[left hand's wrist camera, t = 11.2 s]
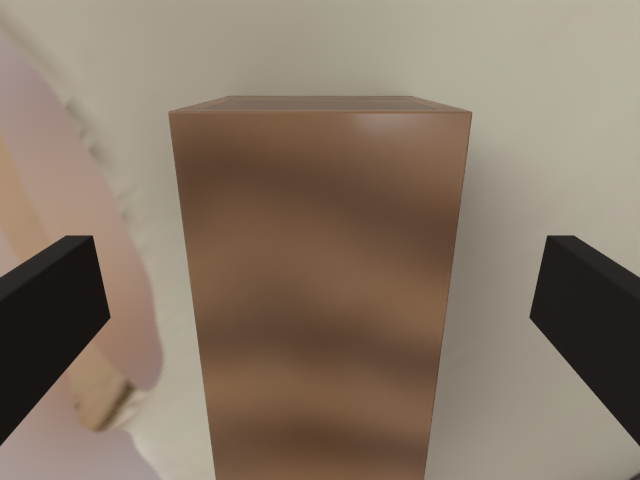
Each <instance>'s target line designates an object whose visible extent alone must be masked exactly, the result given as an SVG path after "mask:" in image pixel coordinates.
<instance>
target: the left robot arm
mask: <svg viewBox="0 0 640 480" xmlns="http://www.w3.org/2000/svg"><path fill="white" fill-rule="evenodd" d="M529 318H530V319H531V320H532V321H533V322H534V324H535V325H536V326H537V327H538V328H539V329H540V331H541V332H542V333H543V334H544V335H545V336H546V338H547V339H548V340H549V341H550V342H551V343H552V344H553V346H554V347H555V348H556V349H557V350H558V351H559V353H560V354H561V355H562V356H563V357H564V358H565V360H566V361H567V362H568V363H569V364H570V365H571V367H572V368H573V369H574V370H575V371H576V372H577V374H578V375H579V376H580V377H581V378H582V379H583V381H584V382H585V383H586V384H587V385H588V386H589V388H590V389H591V390H592V391H593V392H594V393H595V395H596V396H597V397H598V398H599V399H600V400H601V402H602V403H603V404H604V405H605V406H606V407H607V409H608V410H609V411H610V412H611V413H612V414H613V416H614V417H615V418H616V419H617V420H618V421H619V423H620V424H621V425H622V426H623V427H624V428H625V430H626V431H627V432H628V433H629V434H630V435H631V437H632V438H633V439H634V440H635V441H636V442H637V444H638V445H639V446H640V277H638V276H636V275H635V274H633V273H632V272H630V271H629V270H627V269H625V268H624V267H622V266H621V265H619V264H618V263H616V262H614V261H613V260H611V259H610V258H608V257H607V256H605V255H604V254H602V253H600V252H599V251H597V250H596V249H594V248H593V247H591V246H589V245H588V244H586V243H585V242H583V241H582V240H580V239H578V238H577V237H575V236H547V239H546V244H545V248H544V253H543V258H542V262H541V267H540V271H539V276H538V281H537V285H536V290H535V294H534V299H533V303H532V308H531V313H530V317H529ZM109 319H110V313H109V308H108V303H107V299H106V294H105V290H104V285H103V281H102V276H101V271H100V267H99V262H98V258H97V253H96V248H95V244H94V239H93V236H65V237H63V238H62V239H60V240H59V241H57V242H55V243H54V244H52V245H51V246H49V247H47V248H46V249H44V250H43V251H41V252H40V253H38V254H36V255H35V256H33V257H32V258H30V259H29V260H27V261H26V262H24V263H22V264H21V265H19V266H18V267H16V268H15V269H13V270H11V271H10V272H8V273H7V274H5V275H4V276H2V277H0V446H1V445H2V443H3V442H4V441H5V440H6V439H7V438H8V437H9V435H10V434H11V433H12V432H13V431H14V430H15V428H16V427H17V426H18V425H19V424H20V423H21V421H22V420H23V419H24V418H25V417H26V416H27V414H28V413H29V412H30V411H31V410H32V409H33V407H34V406H35V405H36V404H37V403H38V401H39V400H40V399H41V398H42V397H43V396H44V395H45V393H46V392H47V391H48V390H49V389H50V388H51V386H52V385H53V384H54V383H55V382H56V381H57V379H58V378H59V377H60V376H61V375H62V374H63V372H64V371H65V370H66V369H67V368H68V367H69V365H70V364H71V363H72V362H73V361H74V360H75V358H76V357H77V356H78V355H79V354H80V353H81V351H82V350H83V349H84V348H85V347H86V346H87V344H88V343H89V342H90V341H91V340H92V339H93V338H94V336H95V335H96V334H97V333H98V332H99V330H100V329H101V328H102V327H103V326H104V325H105V323H106V322H107V321H108V320H109Z"/></svg>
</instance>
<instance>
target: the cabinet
mask: <svg viewBox="0 0 640 480" xmlns="http://www.w3.org/2000/svg"><path fill="white" fill-rule="evenodd" d="M471 119H472V112H471V111H467V110H463V109H460V108H456V107H452V106H448V105H444V104H440V103H436V102H432V101H428V100H424V99H420V98H416V97H413V96H227V97H224V98H220V99H216V100H212V101H208V102H204V103H200V104H196V105H192V106H188V107H184V108H180V109H176V110H173V111H169V121H170V129H171V137H172V145H173V152H174V160H175V168H176V175H177V183H178V191H179V198H180V206H181V214H182V222H183V229H184V237H185V245H186V252H187V260H188V268H189V275H190V283H191V291H192V299H193V306H194V314H195V322H196V329H197V337H198V345H199V353H200V360H201V368H202V376H203V383H204V391H205V399H206V406H207V414H208V422H209V430H210V437H211V445H212V453H213V460H214V468H215V476H216V480H424V474H425V467H426V459H427V452H428V444H429V437H430V429H431V421H432V414H433V406H434V399H435V391H436V384H437V376H438V368H439V361H440V353H441V346H442V338H443V331H444V323H445V316H446V308H447V300H448V293H449V285H450V278H451V270H452V263H453V255H454V247H455V240H456V232H457V225H458V217H459V210H460V202H461V194H462V187H463V179H464V172H465V164H466V157H467V149H468V142H469V134H470V126H471Z"/></svg>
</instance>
